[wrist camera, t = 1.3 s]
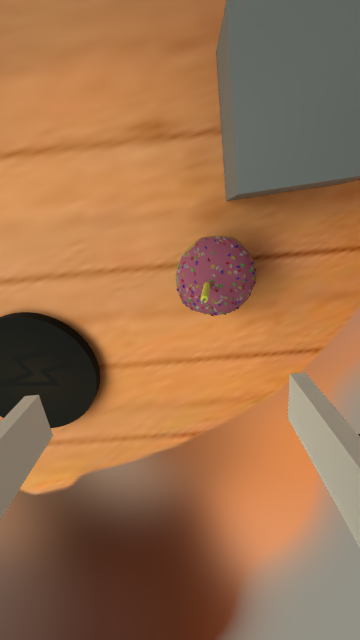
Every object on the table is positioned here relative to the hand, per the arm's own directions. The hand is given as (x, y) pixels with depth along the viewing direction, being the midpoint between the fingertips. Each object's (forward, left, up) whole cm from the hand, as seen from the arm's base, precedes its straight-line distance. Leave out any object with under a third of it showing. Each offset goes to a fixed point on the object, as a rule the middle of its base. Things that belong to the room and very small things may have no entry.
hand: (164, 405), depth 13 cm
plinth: (-17, +14, -21) cm, 30 cm away
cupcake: (-3, +5, -21) cm, 22 cm away
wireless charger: (+8, -21, -21) cm, 31 cm away
